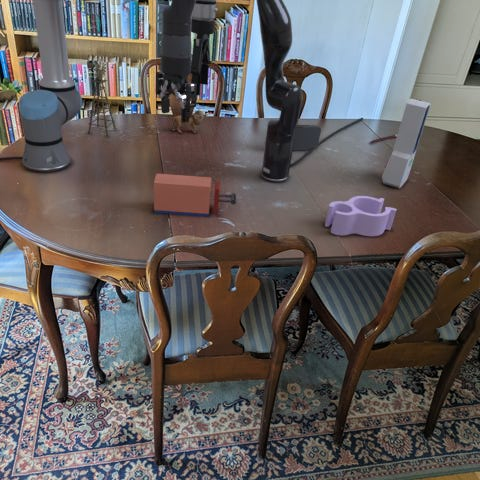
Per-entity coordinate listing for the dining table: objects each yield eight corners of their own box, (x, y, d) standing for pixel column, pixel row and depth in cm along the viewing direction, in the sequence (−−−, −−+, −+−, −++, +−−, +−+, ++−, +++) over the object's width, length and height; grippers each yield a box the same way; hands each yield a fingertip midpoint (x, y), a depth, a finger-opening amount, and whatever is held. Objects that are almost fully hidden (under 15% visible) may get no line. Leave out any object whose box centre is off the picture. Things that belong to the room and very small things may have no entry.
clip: (337, 240, 135) (342, 219, 131) (318, 218, 145) (322, 198, 141) (395, 233, 141) (402, 213, 137) (373, 213, 151) (378, 194, 147)
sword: (407, 132, 223) (408, 129, 223) (413, 134, 221) (413, 131, 221) (364, 143, 208) (365, 141, 207) (370, 146, 206) (370, 143, 205)
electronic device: (399, 190, 168) (424, 107, 152) (379, 183, 171) (402, 102, 155) (408, 178, 177) (433, 100, 161) (389, 173, 180) (411, 95, 164)
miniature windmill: (107, 136, 184) (102, 57, 168) (87, 133, 185) (80, 54, 169) (116, 129, 192) (112, 52, 176) (97, 126, 193) (91, 49, 177)
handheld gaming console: (315, 147, 196) (319, 124, 190) (317, 149, 194) (322, 126, 188) (264, 149, 189) (267, 125, 183) (266, 152, 187) (269, 127, 181)
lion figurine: (200, 128, 202) (201, 108, 197) (204, 133, 198) (205, 112, 193) (167, 129, 197) (167, 108, 192) (170, 134, 193) (170, 113, 188)
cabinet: (209, 206, 145) (211, 177, 140) (208, 216, 140) (210, 186, 135) (156, 202, 144) (156, 173, 139) (153, 212, 139) (153, 182, 133)
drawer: (234, 206, 145) (236, 182, 140) (234, 214, 141) (237, 190, 136) (168, 201, 143) (168, 178, 139) (166, 209, 139) (167, 185, 135)
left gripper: (207, 26, 131) (203, 101, 142) (221, 15, 152) (217, 81, 163) (181, 22, 131) (179, 98, 143) (198, 12, 152) (196, 78, 164)
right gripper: (206, 58, 114) (203, 123, 122) (170, 46, 122) (170, 107, 130) (181, 60, 109) (180, 128, 118) (146, 48, 117) (147, 111, 126)
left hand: (199, 89), depth 153 cm, fingers open, 13 cm apart
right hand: (175, 117), depth 124 cm, fingers open, 8 cm apart
